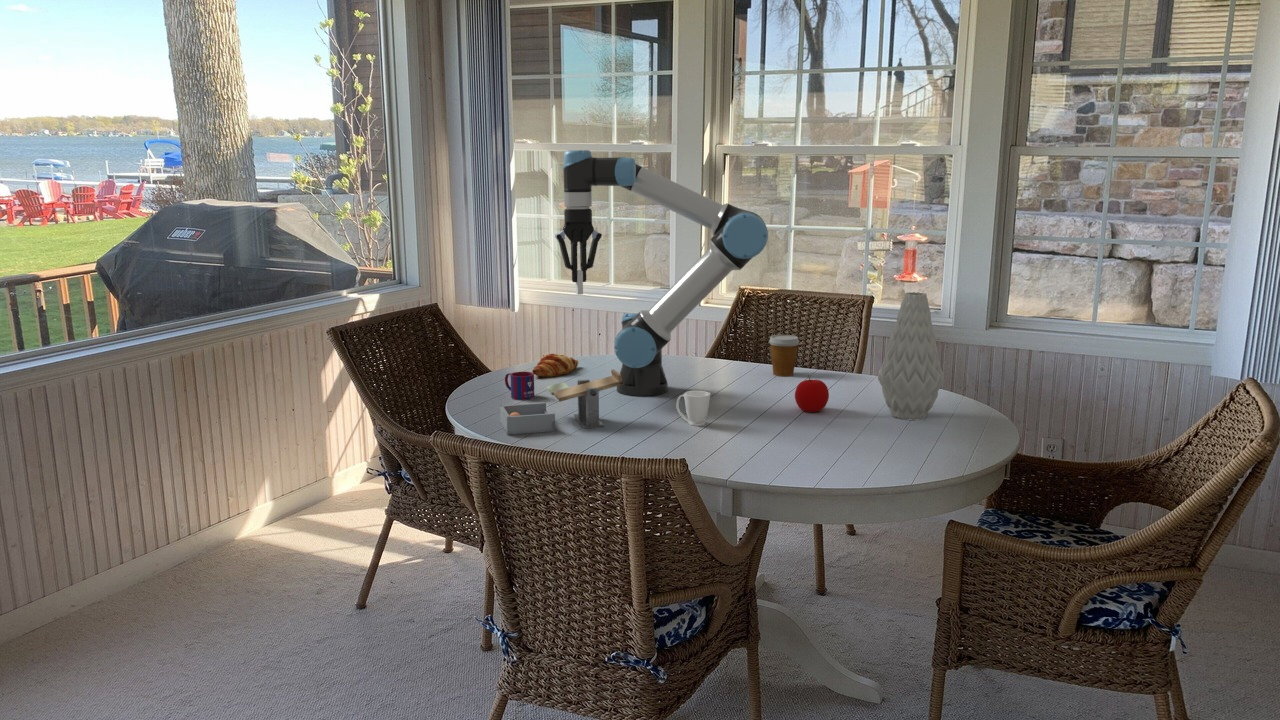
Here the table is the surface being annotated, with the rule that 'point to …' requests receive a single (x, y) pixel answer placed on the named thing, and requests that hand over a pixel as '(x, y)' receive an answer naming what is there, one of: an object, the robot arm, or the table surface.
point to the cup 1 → (521, 385)
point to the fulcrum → (588, 407)
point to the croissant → (555, 365)
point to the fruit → (811, 395)
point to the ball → (515, 414)
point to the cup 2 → (695, 406)
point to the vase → (911, 361)
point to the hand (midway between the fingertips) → (579, 293)
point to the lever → (584, 387)
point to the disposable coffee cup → (783, 354)
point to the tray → (527, 418)
